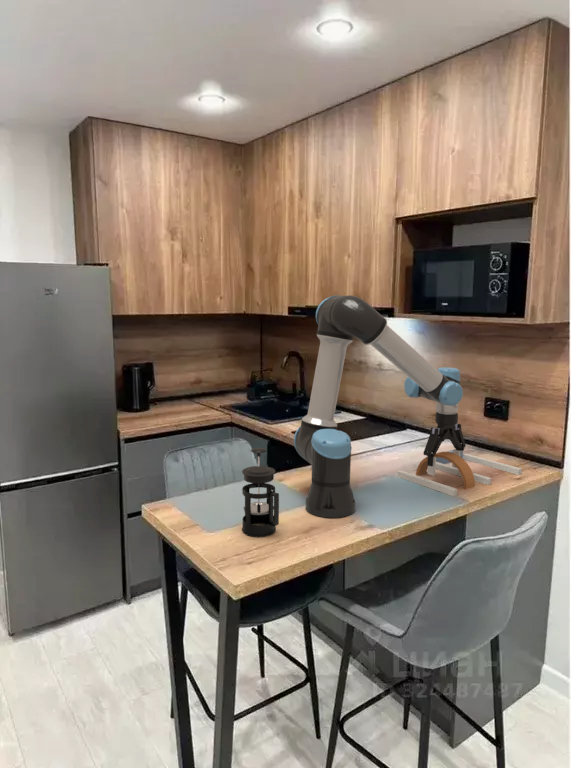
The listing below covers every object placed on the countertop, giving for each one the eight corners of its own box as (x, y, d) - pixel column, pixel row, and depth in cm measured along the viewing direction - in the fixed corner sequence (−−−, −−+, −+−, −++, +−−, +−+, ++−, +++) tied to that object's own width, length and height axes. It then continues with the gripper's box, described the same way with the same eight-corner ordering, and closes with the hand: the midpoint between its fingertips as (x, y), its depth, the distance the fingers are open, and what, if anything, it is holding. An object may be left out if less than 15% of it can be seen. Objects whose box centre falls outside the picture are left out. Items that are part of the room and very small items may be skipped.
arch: (424, 472, 196) (426, 446, 195) (475, 486, 182) (476, 458, 180) (415, 475, 192) (417, 449, 191) (466, 490, 178) (467, 461, 176)
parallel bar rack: (453, 496, 172) (453, 484, 171) (393, 475, 192) (393, 464, 192) (521, 473, 195) (522, 463, 194) (461, 457, 216) (462, 447, 215)
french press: (232, 530, 145) (232, 449, 142) (255, 519, 152) (255, 442, 149) (265, 542, 138) (265, 457, 134) (287, 530, 145) (288, 449, 142)
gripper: (432, 418, 173) (429, 480, 177) (477, 409, 188) (474, 467, 191) (414, 414, 179) (411, 474, 183) (460, 406, 194) (457, 462, 197)
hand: (443, 471), depth 187 cm, fingers open, 13 cm apart
